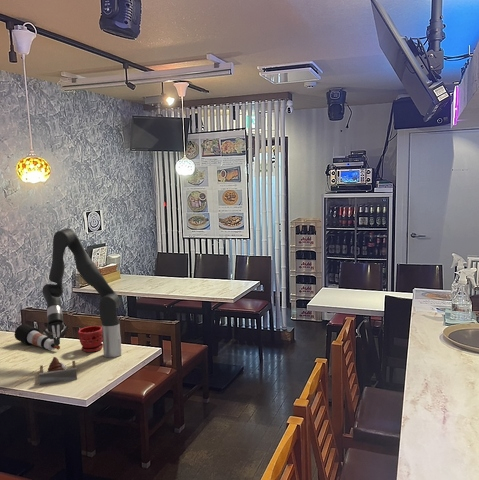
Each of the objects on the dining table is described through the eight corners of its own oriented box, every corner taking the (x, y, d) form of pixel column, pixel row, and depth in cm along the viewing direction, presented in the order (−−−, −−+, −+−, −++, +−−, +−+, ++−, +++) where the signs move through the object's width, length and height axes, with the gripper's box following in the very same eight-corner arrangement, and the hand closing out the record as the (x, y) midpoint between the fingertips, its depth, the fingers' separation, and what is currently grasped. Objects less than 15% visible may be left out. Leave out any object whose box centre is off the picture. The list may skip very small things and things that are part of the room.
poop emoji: (44, 375, 230) (42, 356, 229) (62, 370, 236) (60, 352, 234) (50, 381, 222) (49, 362, 221) (68, 376, 228) (67, 358, 227)
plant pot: (95, 344, 275) (94, 324, 273) (108, 348, 266) (107, 328, 265) (74, 350, 265) (73, 329, 263) (88, 355, 256) (86, 333, 255)
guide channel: (40, 370, 236) (39, 360, 236) (75, 365, 242) (74, 355, 242) (39, 385, 218) (38, 374, 218) (77, 379, 224) (76, 369, 224)
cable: (55, 360, 262) (47, 347, 257) (19, 344, 280) (11, 332, 275) (69, 347, 269) (62, 335, 264) (32, 332, 287) (25, 320, 282)
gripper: (40, 314, 245) (42, 343, 235) (67, 310, 249) (70, 339, 239) (42, 321, 250) (43, 350, 240) (68, 317, 255) (71, 346, 245)
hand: (57, 345), depth 240 cm, fingers closed
